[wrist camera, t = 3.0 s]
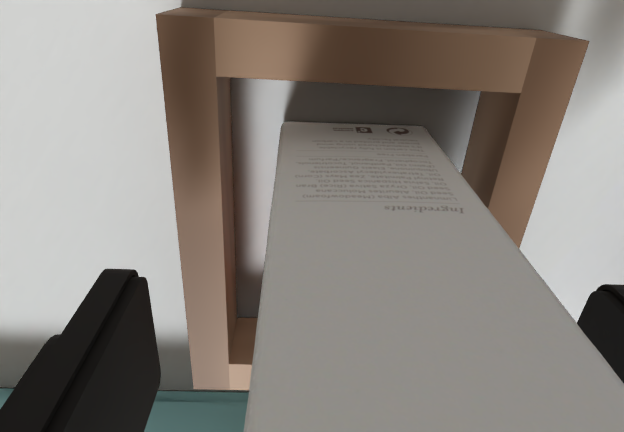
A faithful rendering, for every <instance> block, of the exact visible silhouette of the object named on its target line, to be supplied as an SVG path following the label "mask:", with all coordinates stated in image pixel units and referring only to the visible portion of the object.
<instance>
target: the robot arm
mask: <svg viewBox="0 0 624 432" xmlns="http://www.w3.org/2000/svg"><path fill="white" fill-rule="evenodd" d="M577 324H578V326H579V327H580V328H581V330H582V331H583V333H584V334H585V335H586V336H587V338H588V339H589V340H590V341H591V342H592V344H593V345H594V346H595V347H596V349H597V350H598V351H599V352H600V353H601V355H602V356H603V357H604V359H605V360H606V361H607V363H608V364H609V365H610V366H611V368H612V369H613V370H614V372H615V373H616V374H617V376H618V377H619V378H620V380H621V381H622V382H623V383H624V285H609V284H606V285H601V286H600V287H599V288H598V289H597V290H596V291H594V292H593V293H591V294H590V296H589V298H588V300H587V302H586V304H585V307H584V309H583V311H582V313H581V315H580V318H579V320H578V322H577ZM160 377H161V371H160V363H159V357H158V350H157V343H156V337H155V330H154V323H153V317H152V310H151V303H150V296H149V290H148V283H147V280H146V278H145V277H139V276H138V273H137V271H136V270H130V269H105V270H104V271H103V272H102V273H101V274H100V276H99V277H98V279H97V280H96V282H95V283H94V285H93V286H92V288H91V289H90V291H89V292H88V294H87V296H86V297H85V299H84V300H83V302H82V303H81V305H80V306H79V308H78V309H77V311H76V312H75V314H74V315H73V317H72V318H71V320H70V321H69V323H68V324H67V326H66V327H65V329H64V331H63V332H62V334H61V335H54V336H53V337H51V338H50V339H49V340H48V341H47V342H46V343H45V345H44V346H43V347H42V349H41V350H40V352H39V353H38V355H37V356H36V358H35V359H34V361H33V362H32V364H31V365H30V366H29V368H28V369H27V371H26V372H25V374H24V375H23V377H22V378H21V380H20V381H19V383H18V384H17V385H16V387H15V388H14V390H13V391H12V393H11V394H10V396H9V397H8V399H7V400H6V402H5V403H4V404H3V406H2V407H1V409H0V432H144V430H145V427H146V424H147V421H148V418H149V415H150V412H151V409H152V406H153V403H154V400H155V397H156V394H157V392H158V388H159V384H160Z"/></svg>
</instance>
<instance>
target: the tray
mask: <svg viewBox="0 0 624 432" xmlns="http://www.w3.org/2000/svg"><path fill="white" fill-rule="evenodd" d="M13 390H14V389H13V388H0V409H1V407H2V406H3V404H4V403H5V402H6V400H7V399H8V397H9V396H10V394H11V393H12V391H13ZM248 396H249V392H190V391H158V392H157V394H156V397H155V400H154V403H153V406H152V409H151V412H150V415H149V418H148V421H147V424H146V427H145V430H144V432H244V425H245V417H246V410H247V403H248Z"/></svg>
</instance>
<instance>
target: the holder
mask: <svg viewBox="0 0 624 432" xmlns="http://www.w3.org/2000/svg"><path fill="white" fill-rule="evenodd" d="M156 22H157V32H158V42H159V52H160V62H161V72H162V81H163V91H164V101H165V111H166V121H167V131H168V141H169V151H170V161H171V171H172V180H173V190H174V200H175V210H176V220H177V230H178V240H179V250H180V260H181V270H182V279H183V289H184V299H185V309H186V319H187V329H188V339H189V349H190V359H191V369H192V378H193V388H194V389H210V390H249V387H250V378H251V369H252V362H253V354H254V346H255V337H256V328H257V321H258V318H238V317H237V298H236V263H235V229H234V194H233V159H232V125H231V90H230V77H235V78H253V79H271V80H289V81H307V82H326V83H344V84H362V85H380V86H398V87H416V88H435V89H453V90H471V91H481V95H480V99H479V103H478V107H477V111H476V115H475V120H474V124H473V128H472V132H471V136H470V140H469V144H468V149H467V153H466V157H465V161H464V165H463V169H462V173H461V175H462V176H463V178H464V179H465V180H466V182H467V183H468V184H469V186H470V187H471V188H472V189H473V191H474V192H475V193H476V194H477V196H478V197H479V198H480V200H481V201H482V202H483V204H484V205H485V206H486V207H487V208H488V209H489V211H490V212H491V214H492V215H493V216H494V218H495V219H496V220H497V221H498V223H499V224H500V225H501V226H502V228H503V229H504V230H505V231H506V233H507V234H508V235H509V237H510V238H511V239H512V241H513V242H514V243H515V244H516V245H517V247H518V248H519V247H520V244H521V241H522V238H523V236H524V233H525V230H526V227H527V224H528V221H529V218H530V215H531V212H532V209H533V206H534V203H535V200H536V197H537V194H538V191H539V188H540V185H541V182H542V180H543V177H544V174H545V171H546V168H547V165H548V162H549V159H550V156H551V153H552V150H553V147H554V144H555V141H556V138H557V135H558V132H559V129H560V126H561V124H562V121H563V118H564V115H565V112H566V109H567V106H568V103H569V100H570V97H571V94H572V91H573V88H574V85H575V82H576V79H577V76H578V73H579V70H580V67H581V65H582V62H583V59H584V56H585V53H586V50H587V47H588V44H589V41H586V40H582V39H578V38H573V37H569V36H564V35H560V34H556V33H551V32H547V31H543V30H531V29H515V28H499V27H483V26H467V25H451V24H436V23H420V22H404V21H388V20H372V19H356V18H340V17H325V16H309V15H293V14H277V13H261V12H245V11H230V10H214V9H198V8H182V7H180V8H176V9H173V10H169V11H166V12H162V13H158V14H156Z"/></svg>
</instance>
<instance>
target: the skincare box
mask: <svg viewBox="0 0 624 432" xmlns="http://www.w3.org/2000/svg"><path fill="white" fill-rule="evenodd" d="M244 432H624V383H623V382H622V381H621V380H620V378H619V377H618V376H617V374H616V373H615V372H614V370H613V369H612V368H611V366H610V365H609V364H608V363H607V361H606V360H605V359H604V357H603V356H602V355H601V353H600V352H599V351H598V350H597V349H596V347H595V346H594V345H593V344H592V342H591V341H590V340H589V339H588V338H587V336H586V335H585V334H584V333H583V331H582V330H581V328H580V327H579V326H578V324H577V323H576V322H575V320H574V319H573V318H572V316H571V315H570V314H569V313H568V311H567V310H566V309H565V307H564V306H563V305H562V304H561V302H560V301H559V300H558V298H557V297H556V296H555V295H554V293H553V292H552V291H551V289H550V288H549V287H548V285H547V284H546V283H545V281H544V280H543V279H542V278H541V277H540V275H539V274H538V273H537V272H536V270H535V269H534V268H533V267H532V265H531V264H530V263H529V261H528V260H527V259H526V257H525V256H524V255H523V254H522V252H521V251H520V250H519V248H518V247H517V245H516V244H515V243H514V242H513V241H512V239H511V238H510V237H509V235H508V234H507V233H506V231H505V230H504V229H503V228H502V226H501V225H500V224H499V223H498V221H497V220H496V219H495V218H494V216H493V215H492V214H491V212H490V211H489V209H488V208H487V207H486V206H485V205H484V204H483V202H482V201H481V200H480V198H479V197H478V196H477V194H476V193H475V192H474V191H473V189H472V188H471V187H470V186H469V184H468V183H467V182H466V180H465V179H464V178H463V176H462V175H461V174H460V172H459V171H458V170H457V168H456V167H455V166H454V164H453V163H452V162H451V161H450V160H449V158H448V157H447V155H446V154H445V153H444V152H443V150H442V149H441V148H440V147H439V145H438V144H437V143H436V141H435V140H434V139H433V138H432V137H431V135H430V134H429V133H428V131H427V130H426V129H425V127H423V126H409V125H377V124H340V123H311V122H291V121H289V122H284V123H283V124H282V126H281V132H280V140H279V148H278V157H277V167H276V176H275V183H274V191H273V198H272V206H271V212H270V220H269V229H268V238H267V247H266V255H265V263H264V271H263V280H262V288H261V297H260V305H259V313H258V321H257V328H256V337H255V346H254V354H253V362H252V369H251V378H250V387H249V396H248V403H247V410H246V417H245V425H244Z"/></svg>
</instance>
